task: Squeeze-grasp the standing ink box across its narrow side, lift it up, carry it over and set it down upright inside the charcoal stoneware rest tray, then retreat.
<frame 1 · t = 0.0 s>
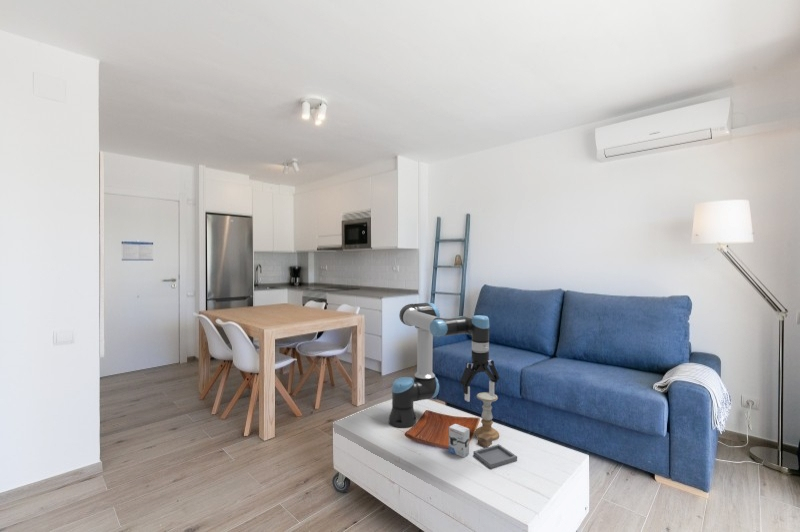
hand: (479, 398, 165), 28 cm above the table, fingers open, 13 cm apart
candle holder: (486, 435, 190), on the table
rest tray: (495, 458, 168), on the table
ink box: (458, 453, 172), on the table
walnut block: (484, 444, 180), on the table
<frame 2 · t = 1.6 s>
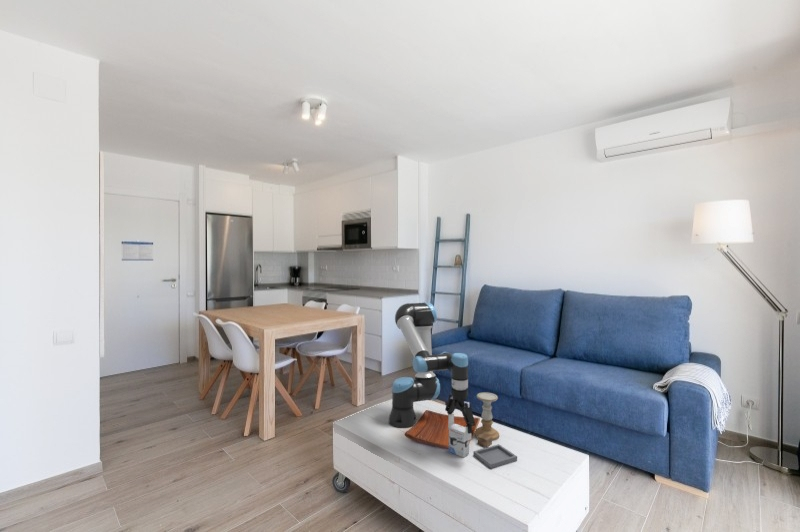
hand: (459, 433, 172), 9 cm above the table, fingers open, 13 cm apart
nothing on the table moved.
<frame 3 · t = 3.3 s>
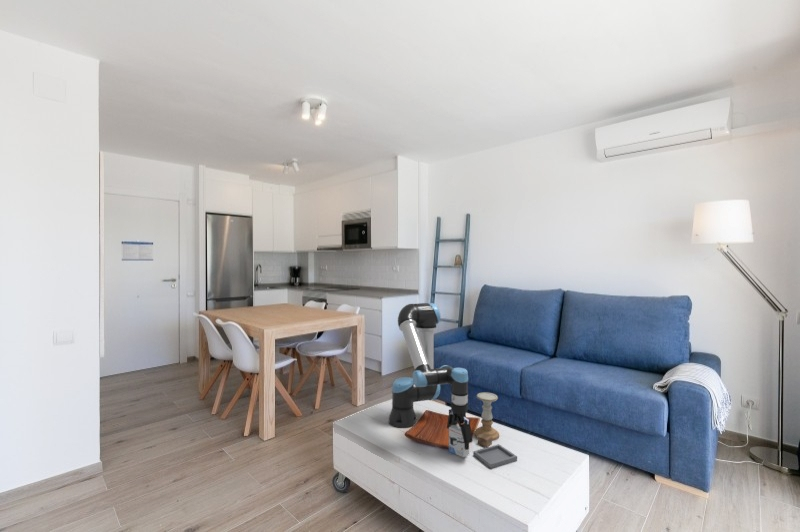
hand: (458, 450, 172), 1 cm above the table, fingers closed on ink box, 9 cm apart
ink box: (458, 453, 172), on the table, touching gripper
everything else where it was.
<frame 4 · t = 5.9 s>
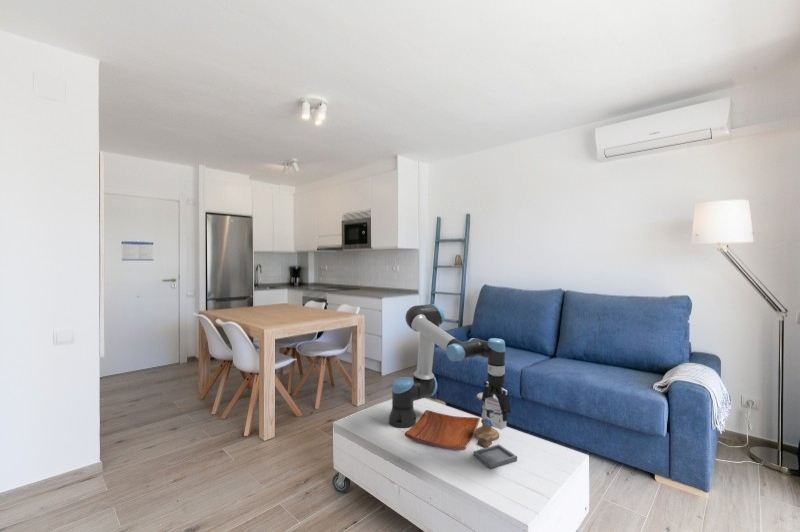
hand: (495, 422, 167), 16 cm above the table, fingers closed on ink box, 9 cm apart
ink box: (495, 425, 167), point 15 cm above the table, touching gripper
everything else where it was.
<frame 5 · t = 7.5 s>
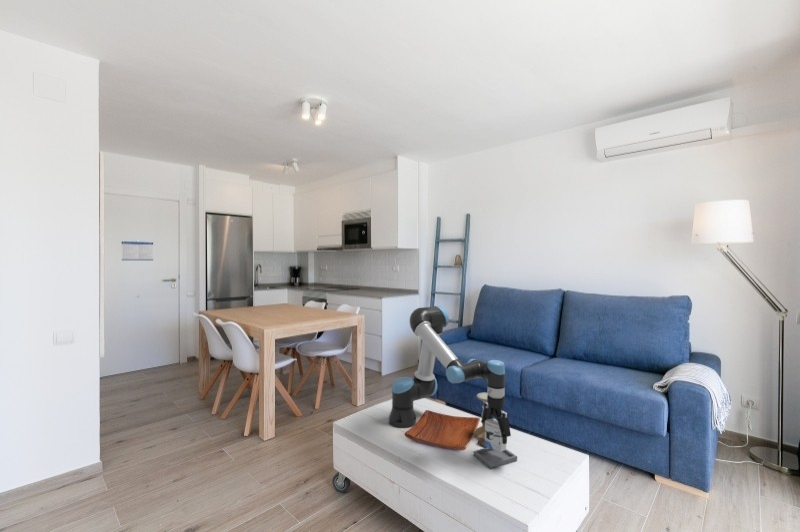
hand: (495, 444, 168), 6 cm above the table, fingers closed on ink box, 9 cm apart
ink box: (495, 447, 168), point 5 cm above the table, touching gripper
everything else where it was.
when the fingers open (4 cm above the table, at t = 8.9 s): ink box drops 2 cm, resting on rest tray.
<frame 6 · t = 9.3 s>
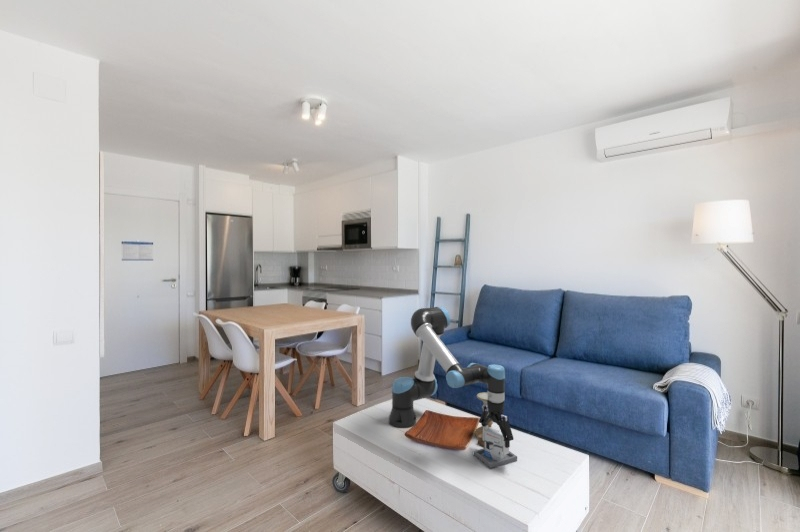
hand: (495, 446, 168), 5 cm above the table, fingers open, 13 cm apart
ink box: (495, 457, 168), resting on rest tray
everything else where it was.
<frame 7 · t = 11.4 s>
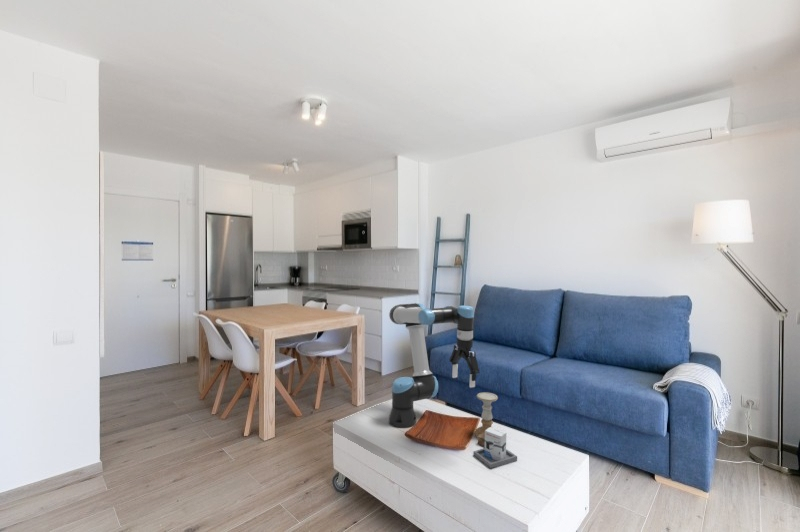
hand: (463, 382, 178), 31 cm above the table, fingers open, 13 cm apart
nothing on the table moved.
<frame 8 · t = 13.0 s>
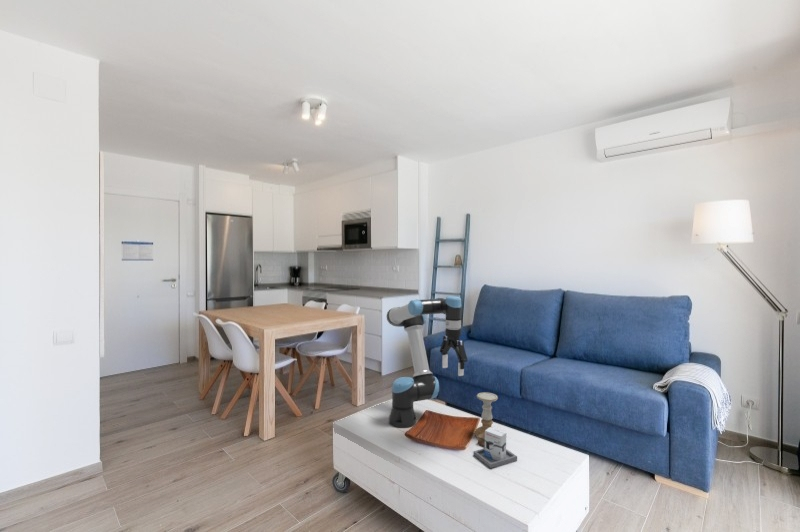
hand: (452, 371, 182), 35 cm above the table, fingers open, 13 cm apart
nothing on the table moved.
at the end: ink box 0.2 cm from the rest tray (horizontally); ink box tilted 0°; the gripper is holding nothing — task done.
